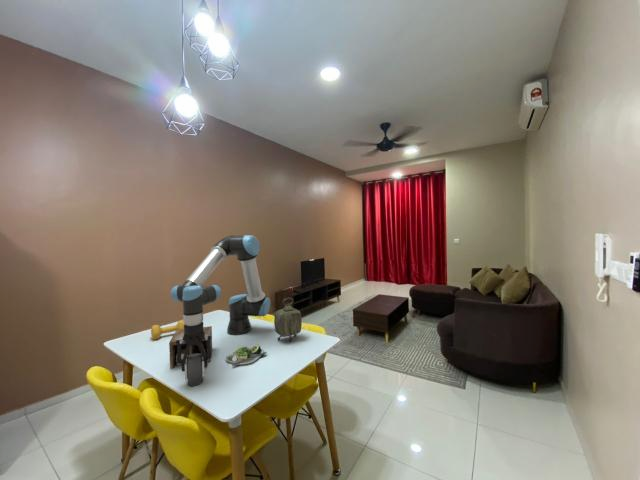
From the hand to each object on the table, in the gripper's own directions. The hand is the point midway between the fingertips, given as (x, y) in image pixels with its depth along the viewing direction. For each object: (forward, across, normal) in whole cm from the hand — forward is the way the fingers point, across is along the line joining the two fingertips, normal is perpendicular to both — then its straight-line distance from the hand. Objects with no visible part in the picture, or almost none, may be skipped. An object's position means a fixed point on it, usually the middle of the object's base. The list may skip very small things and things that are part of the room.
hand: (195, 376), depth 110 cm
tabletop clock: (+3, -47, -28) cm, 55 cm away
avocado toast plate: (+3, -22, -16) cm, 27 cm away
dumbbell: (+3, +22, -63) cm, 67 cm away
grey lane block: (+3, +8, -23) cm, 25 cm away
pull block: (+2, 0, -6) cm, 7 cm away
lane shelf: (+3, +4, -25) cm, 25 cm away
